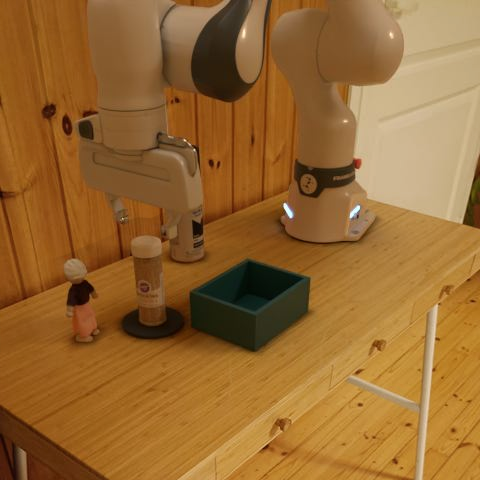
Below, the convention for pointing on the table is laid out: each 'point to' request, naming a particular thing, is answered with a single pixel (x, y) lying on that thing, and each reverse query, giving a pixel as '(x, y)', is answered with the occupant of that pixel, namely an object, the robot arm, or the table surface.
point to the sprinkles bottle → (149, 279)
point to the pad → (153, 332)
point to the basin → (249, 303)
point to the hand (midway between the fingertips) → (145, 229)
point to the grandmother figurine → (80, 301)
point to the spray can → (189, 234)
